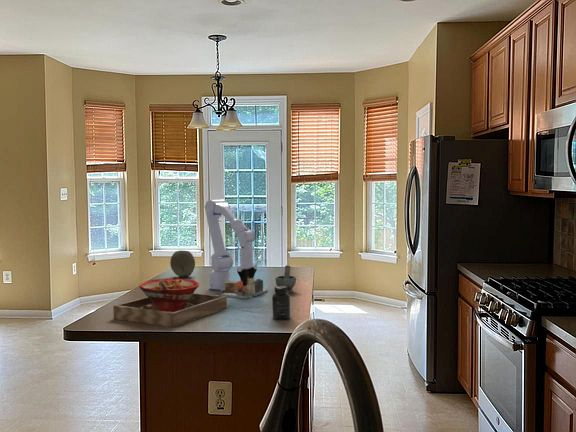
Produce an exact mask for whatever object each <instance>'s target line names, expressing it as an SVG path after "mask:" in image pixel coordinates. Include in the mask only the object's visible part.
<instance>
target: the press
mask: <svg viewBox="0 0 576 432" xmlns="http://www.w3.org/2000/svg"><path fill="white" fill-rule="evenodd" d="M249 292H251V294H252V297H258V296H260V295H263V294H265V293H268V289H267V288H264V280H263V279H262V278H256V280H255V290H252V291H245V294H244V295H246V293H249ZM233 294H235V292H234V293H233Z"/></svg>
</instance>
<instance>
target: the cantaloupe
mask: <svg viewBox="0 0 576 432" xmlns="http://www.w3.org/2000/svg"><path fill="white" fill-rule="evenodd" d="M194 257H195V256H194V255H193V254H192V253H191V251H189V250H176V251H175V252H174V253H173V254H172V255H171V257H170V263H169V264H170V268H171V270H172V272H173V273H174V274H175V275H176V276H178V277H180V278H188V277H190V276H191V275H192V274H193V272H194V270H195V267H196V260H195V258H194Z"/></svg>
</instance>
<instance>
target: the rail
mask: <svg viewBox="0 0 576 432" xmlns="http://www.w3.org/2000/svg"><path fill="white" fill-rule="evenodd" d="M219 296H227V298H235V299H236V298H238V299H247V300H248V299H252V297H253V296H252V294H251V292H249V293H246V295H235V294H234V293H225V290H219Z"/></svg>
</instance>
